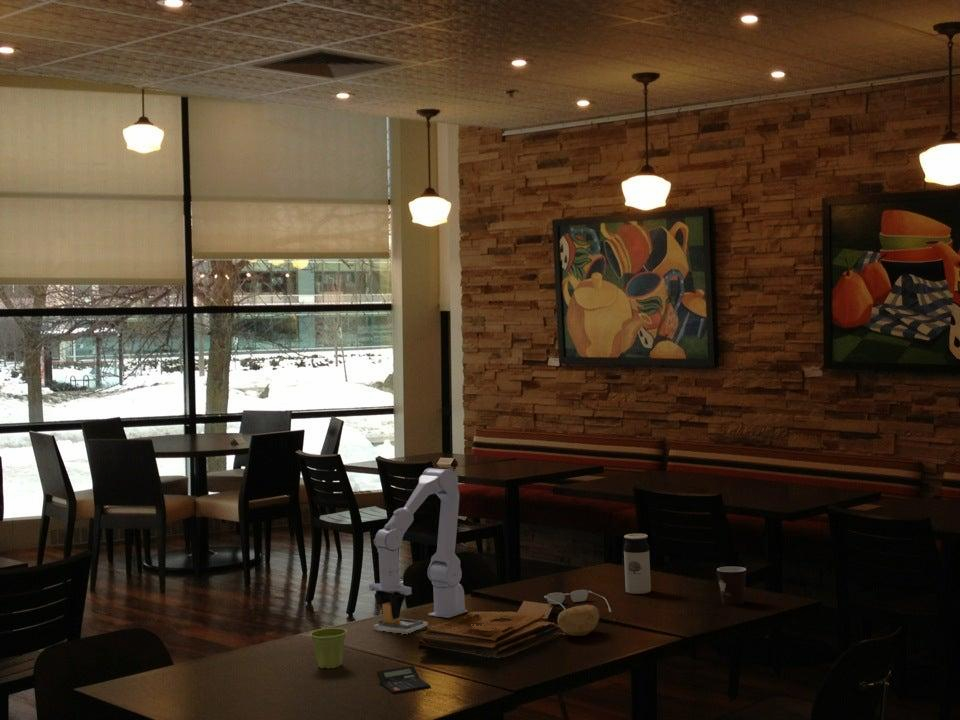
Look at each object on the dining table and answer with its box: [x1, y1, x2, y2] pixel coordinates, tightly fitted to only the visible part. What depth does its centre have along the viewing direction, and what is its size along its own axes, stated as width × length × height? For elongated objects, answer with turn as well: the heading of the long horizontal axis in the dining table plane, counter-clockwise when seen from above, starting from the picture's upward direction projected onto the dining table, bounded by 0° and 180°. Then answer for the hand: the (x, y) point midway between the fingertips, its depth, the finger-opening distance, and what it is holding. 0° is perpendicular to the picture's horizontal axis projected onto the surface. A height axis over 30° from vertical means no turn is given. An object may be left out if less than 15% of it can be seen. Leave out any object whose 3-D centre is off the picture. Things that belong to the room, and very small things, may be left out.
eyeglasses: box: [543, 589, 612, 613], centre depth 355 cm, size 15×18×4 cm
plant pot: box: [309, 627, 348, 670], centre depth 302 cm, size 9×9×9 cm
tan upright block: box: [382, 602, 401, 623], centre depth 341 cm, size 4×3×6 cm
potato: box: [557, 604, 600, 637], centre depth 323 cm, size 10×14×8 cm
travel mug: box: [623, 533, 652, 595], centre depth 375 cm, size 8×8×18 cm
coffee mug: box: [715, 566, 747, 606], centre depth 356 cm, size 12×9×10 cm
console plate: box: [373, 617, 429, 635], centre depth 339 cm, size 10×12×2 cm
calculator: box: [376, 665, 431, 695], centre depth 283 cm, size 9×12×3 cm
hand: (391, 617), depth 341 cm, fingers closed on tan upright block, 3 cm apart
